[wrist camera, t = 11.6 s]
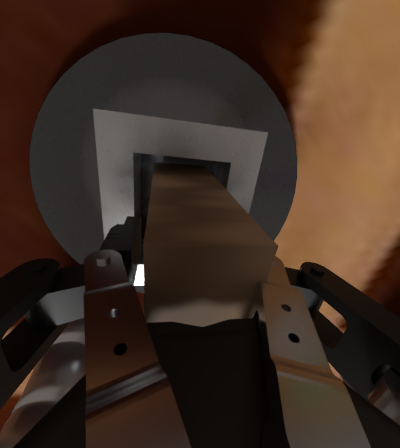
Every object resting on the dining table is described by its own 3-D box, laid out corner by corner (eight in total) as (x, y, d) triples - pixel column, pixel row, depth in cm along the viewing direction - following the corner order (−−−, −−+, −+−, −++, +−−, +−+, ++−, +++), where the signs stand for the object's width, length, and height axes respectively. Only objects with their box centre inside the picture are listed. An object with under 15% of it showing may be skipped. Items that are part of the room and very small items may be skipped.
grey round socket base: (322, 72, 17) (388, 49, 12) (257, 284, 26) (279, 322, 21) (7, 6, 12) (-96, -69, 8) (63, 286, 22) (34, 333, 17)
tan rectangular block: (204, 165, 17) (278, 246, 6) (197, 230, 19) (240, 362, 9) (154, 162, 16) (143, 246, 6) (153, 229, 19) (145, 373, 8)
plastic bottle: (71, 342, 25) (-149, 854, 8) (48, 303, 22) (-411, 1003, 5) (124, 332, 26) (35, 785, 8) (109, 292, 23) (-88, 876, 5)
